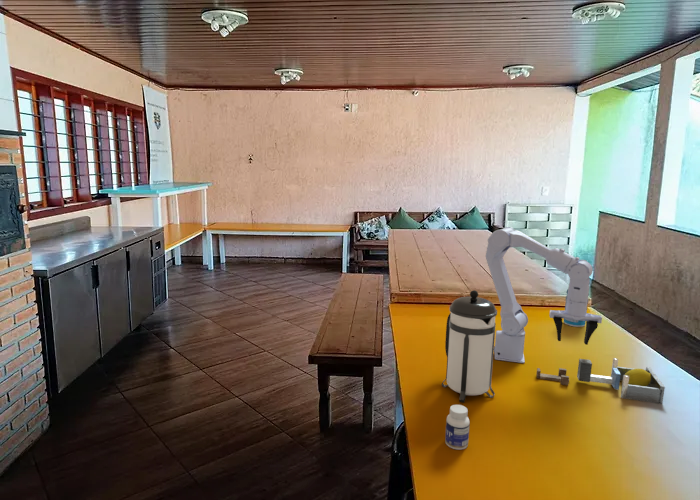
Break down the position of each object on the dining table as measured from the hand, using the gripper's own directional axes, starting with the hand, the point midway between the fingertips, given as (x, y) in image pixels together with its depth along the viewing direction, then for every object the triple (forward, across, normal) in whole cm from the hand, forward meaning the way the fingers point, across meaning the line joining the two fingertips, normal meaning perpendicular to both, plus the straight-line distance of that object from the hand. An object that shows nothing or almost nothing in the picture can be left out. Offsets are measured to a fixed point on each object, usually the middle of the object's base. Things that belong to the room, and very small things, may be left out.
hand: (572, 341), depth 148 cm
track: (+10, -5, -7) cm, 13 cm away
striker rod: (+10, +7, -7) cm, 14 cm away
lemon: (+9, +13, -7) cm, 17 cm away
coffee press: (+10, -31, -23) cm, 40 cm away
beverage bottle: (+10, +8, +51) cm, 53 cm away
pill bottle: (+10, -30, -51) cm, 61 cm away
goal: (+10, +17, -7) cm, 21 cm away
